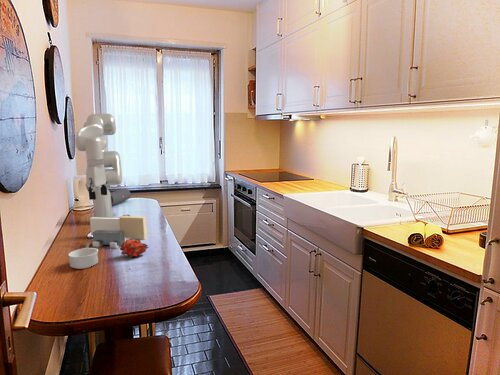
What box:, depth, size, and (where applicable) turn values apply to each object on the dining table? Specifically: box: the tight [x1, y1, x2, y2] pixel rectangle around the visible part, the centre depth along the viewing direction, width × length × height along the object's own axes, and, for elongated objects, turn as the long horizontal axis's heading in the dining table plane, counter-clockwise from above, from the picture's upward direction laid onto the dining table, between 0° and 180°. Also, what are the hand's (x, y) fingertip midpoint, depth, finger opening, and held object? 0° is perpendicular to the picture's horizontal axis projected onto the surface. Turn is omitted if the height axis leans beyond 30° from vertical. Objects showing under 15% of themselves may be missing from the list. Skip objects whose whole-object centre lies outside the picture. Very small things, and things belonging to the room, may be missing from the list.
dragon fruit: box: [119, 239, 149, 259], centre depth 162 cm, size 8×8×12 cm
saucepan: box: [67, 241, 99, 270], centre depth 157 cm, size 12×20×6 cm, turn 15°
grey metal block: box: [92, 230, 125, 246], centre depth 178 cm, size 4×14×6 cm, turn 81°
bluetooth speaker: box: [110, 188, 132, 207], centre depth 272 cm, size 23×9×10 cm, turn 167°
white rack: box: [89, 215, 148, 249], centre depth 182 cm, size 18×30×11 cm, turn 78°
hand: (98, 197), depth 184 cm, fingers open, 9 cm apart
